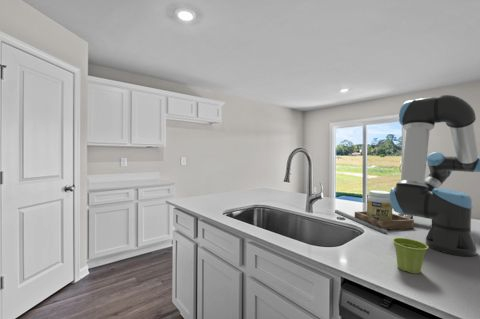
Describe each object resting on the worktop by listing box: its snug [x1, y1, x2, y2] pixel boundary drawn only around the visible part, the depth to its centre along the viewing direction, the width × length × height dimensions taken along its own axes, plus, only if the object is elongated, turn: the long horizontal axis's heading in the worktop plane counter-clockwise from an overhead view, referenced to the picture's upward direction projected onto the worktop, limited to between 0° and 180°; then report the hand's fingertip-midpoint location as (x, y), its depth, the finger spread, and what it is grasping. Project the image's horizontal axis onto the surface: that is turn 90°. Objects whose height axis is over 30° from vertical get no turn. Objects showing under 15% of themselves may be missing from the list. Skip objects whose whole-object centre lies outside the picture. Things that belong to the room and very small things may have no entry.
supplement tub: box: [366, 189, 393, 221], centre depth 128 cm, size 12×12×17 cm
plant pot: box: [392, 237, 430, 274], centre depth 76 cm, size 9×9×9 cm
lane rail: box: [334, 209, 388, 235], centre depth 130 cm, size 40×1×2 cm, turn 11°
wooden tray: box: [354, 210, 415, 230], centre depth 127 cm, size 19×28×12 cm
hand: (403, 216), depth 129 cm, fingers closed on wooden tray, 4 cm apart
